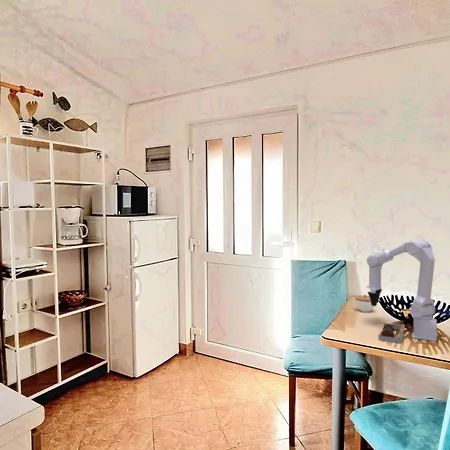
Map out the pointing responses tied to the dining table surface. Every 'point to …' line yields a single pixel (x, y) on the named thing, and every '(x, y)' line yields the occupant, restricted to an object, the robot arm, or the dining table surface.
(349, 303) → the dining table surface
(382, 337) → the hub cradle
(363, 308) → the lidded jar
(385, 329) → the bolt
